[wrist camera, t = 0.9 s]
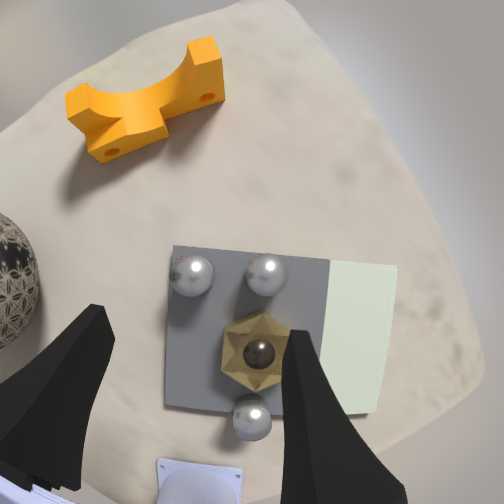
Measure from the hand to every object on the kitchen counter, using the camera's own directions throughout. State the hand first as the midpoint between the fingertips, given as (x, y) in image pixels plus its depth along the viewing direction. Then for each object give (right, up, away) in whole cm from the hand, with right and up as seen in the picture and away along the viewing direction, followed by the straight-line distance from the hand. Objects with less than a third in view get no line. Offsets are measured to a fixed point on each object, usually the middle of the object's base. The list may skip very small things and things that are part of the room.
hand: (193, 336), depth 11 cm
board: (+5, -4, +13) cm, 14 cm away
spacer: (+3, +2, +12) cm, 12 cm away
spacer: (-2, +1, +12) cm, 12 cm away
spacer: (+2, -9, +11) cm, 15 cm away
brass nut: (+3, -4, +12) cm, 13 cm away
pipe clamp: (-6, +15, +14) cm, 21 cm away
